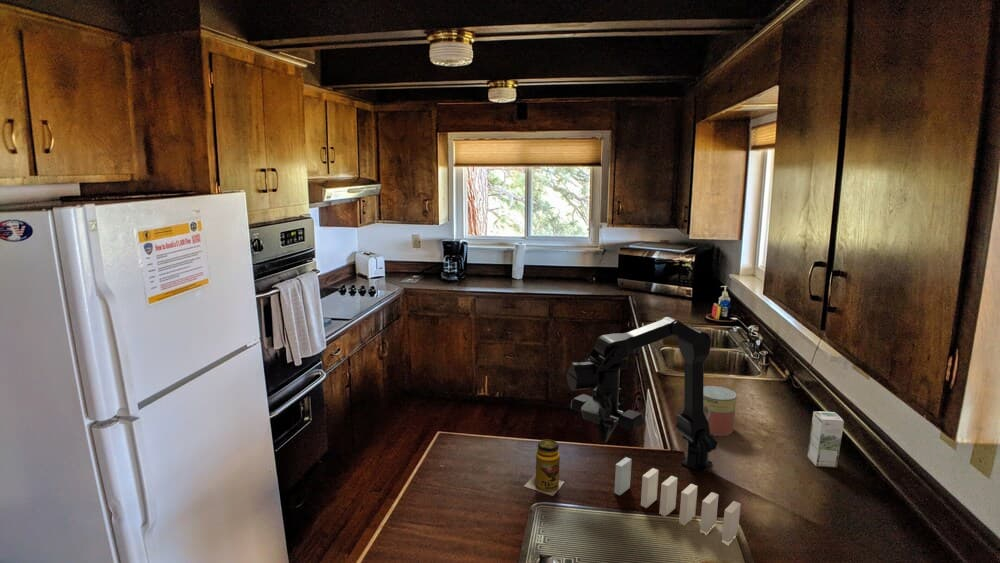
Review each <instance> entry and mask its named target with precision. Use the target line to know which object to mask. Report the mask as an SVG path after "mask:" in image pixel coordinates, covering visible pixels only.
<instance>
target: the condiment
mask: <svg viewBox="0 0 1000 563" xmlns="http://www.w3.org/2000/svg"><path fill="white" fill-rule="evenodd" d="M535 456H536V457H535V473H534V474H533V476H532V477H531V478H530V479H529V480H528V481H527V482H526V483H525V484H524V485H523V487H525V488H527V489H530V490H535V491H537V492H539V493H543V494H546V495H549V496H551V497H552V496H553V497H554V496H555V494H556V493H557V492H558V491H559V490H560V489H561V487H562V486H563V484H564V483H565V481H564V480H560V457H561V456H560V452H559V444H558V442H557V441H556V440H554V439H550V438H548V439H546V438H545V439H542V440H540V441H539V442H538V443H537V451H536V454H535Z"/></svg>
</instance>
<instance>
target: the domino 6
mask: <svg viewBox="0 0 1000 563" xmlns="http://www.w3.org/2000/svg"><path fill="white" fill-rule="evenodd" d="M741 505H742V504H741V503H739V502H738V501H735V500H733V501H731V503H730V504H729V505H728V506H727V507H726V508H725V509H724V512H723V513H724V514H723V522H722V532H721V533H722V535H721V541H722V540H724V541H726V542H730V541H731V540H732V539H733V537H734V536H735V535H736V534H737V532H738V533H739V526H740V525H739V523H740V515H741V507H742V506H741Z"/></svg>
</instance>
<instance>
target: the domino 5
mask: <svg viewBox="0 0 1000 563" xmlns="http://www.w3.org/2000/svg"><path fill="white" fill-rule="evenodd" d="M719 496H720V495H719V494H718V493H716V492H713V491H711V492H710V493H709V494H708V495H707V496H706V497H705V498H704V499H703V500H702V502H701V512H700V523H699V525H700V526H699V531H700V530H702V531H704V532H706V533H707V532H708V531H709V530H710V528H712V526H713V525H714V524H715V523H716V524H717V515H718V505H719V504H718V503H719Z"/></svg>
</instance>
